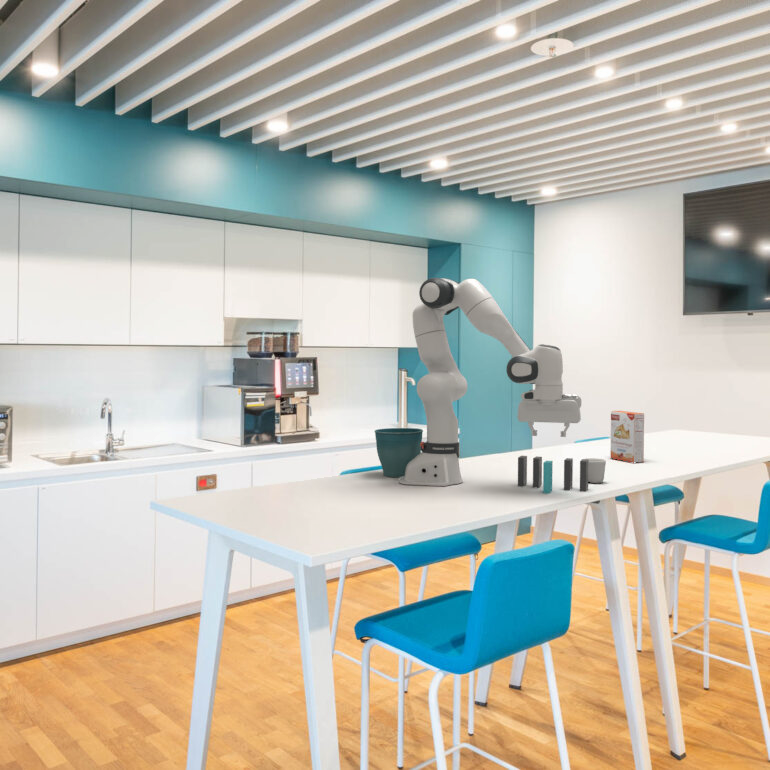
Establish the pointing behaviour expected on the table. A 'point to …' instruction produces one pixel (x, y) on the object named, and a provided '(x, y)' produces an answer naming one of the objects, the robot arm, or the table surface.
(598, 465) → the cup
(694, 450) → the table surface
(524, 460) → the domino
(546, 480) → the domino teal
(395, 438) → the flower pot
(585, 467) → the domino
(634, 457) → the cracker box
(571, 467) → the domino
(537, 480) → the domino
